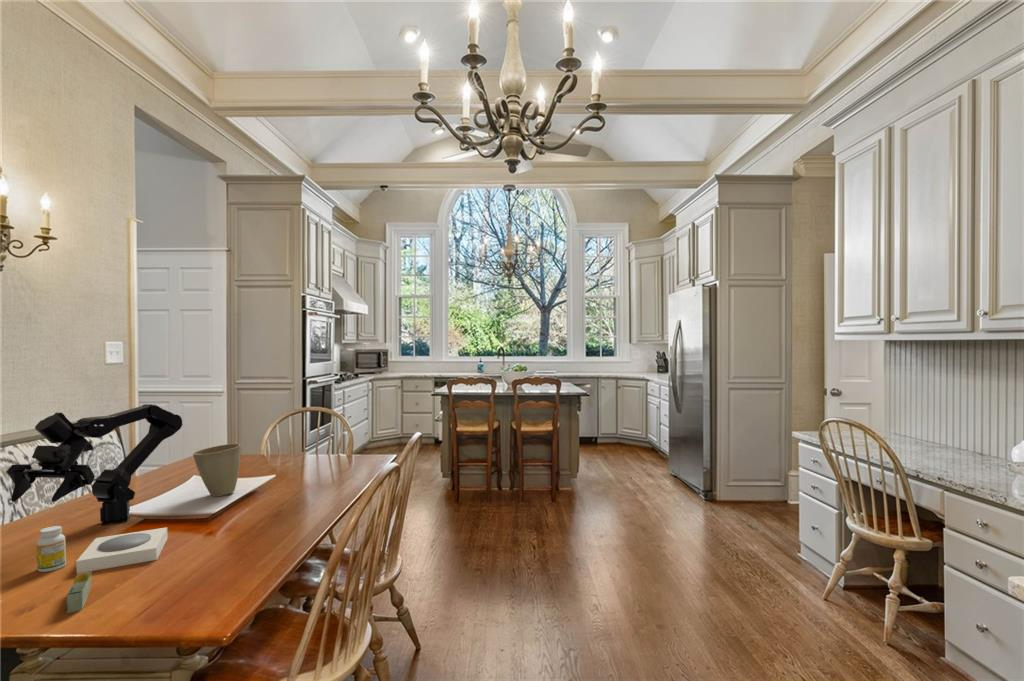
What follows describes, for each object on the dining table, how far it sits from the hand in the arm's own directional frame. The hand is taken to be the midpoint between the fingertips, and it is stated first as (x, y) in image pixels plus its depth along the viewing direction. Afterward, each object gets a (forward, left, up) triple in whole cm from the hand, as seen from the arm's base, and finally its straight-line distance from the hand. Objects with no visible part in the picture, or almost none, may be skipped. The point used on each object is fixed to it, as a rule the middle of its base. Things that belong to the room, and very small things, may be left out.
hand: (32, 501), depth 137 cm
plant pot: (-40, -38, -14) cm, 57 cm away
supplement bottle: (-7, +11, -15) cm, 19 cm away
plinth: (-21, +10, -14) cm, 28 cm away
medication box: (-18, +34, -15) cm, 42 cm away
